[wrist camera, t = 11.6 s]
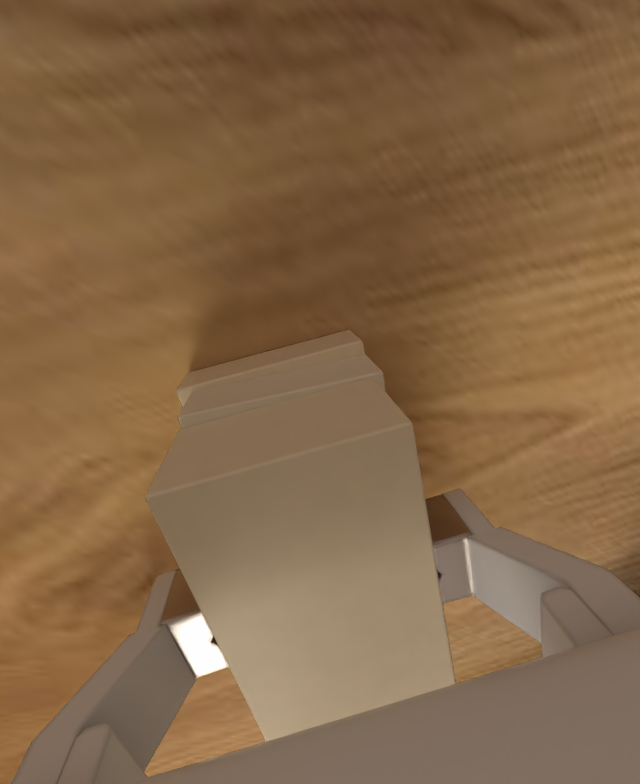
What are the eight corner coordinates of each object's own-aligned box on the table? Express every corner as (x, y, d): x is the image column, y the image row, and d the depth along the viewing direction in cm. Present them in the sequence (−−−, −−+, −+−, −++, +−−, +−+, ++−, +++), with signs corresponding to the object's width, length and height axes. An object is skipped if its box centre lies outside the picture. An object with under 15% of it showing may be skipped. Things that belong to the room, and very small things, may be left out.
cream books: (186, 372, 12) (156, 415, 9) (350, 328, 13) (380, 355, 9) (263, 568, 16) (262, 654, 12) (393, 531, 16) (427, 605, 12)
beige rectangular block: (178, 429, 9) (142, 497, 7) (373, 376, 9) (413, 421, 7) (269, 645, 12) (270, 752, 9) (418, 601, 12) (458, 694, 10)
